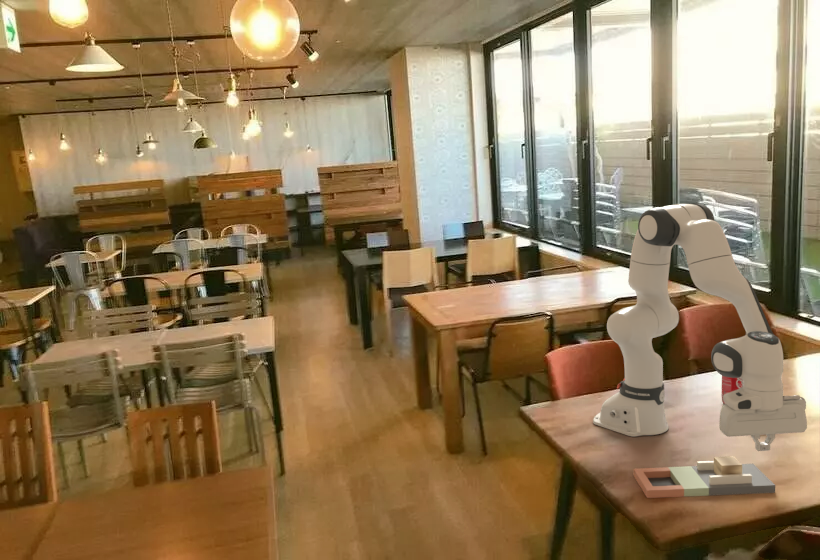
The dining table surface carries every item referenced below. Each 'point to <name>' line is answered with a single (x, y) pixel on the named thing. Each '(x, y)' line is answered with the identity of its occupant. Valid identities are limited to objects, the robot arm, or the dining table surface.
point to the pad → (689, 481)
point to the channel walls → (723, 478)
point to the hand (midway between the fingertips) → (762, 449)
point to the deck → (662, 485)
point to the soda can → (730, 385)
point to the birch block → (727, 465)
